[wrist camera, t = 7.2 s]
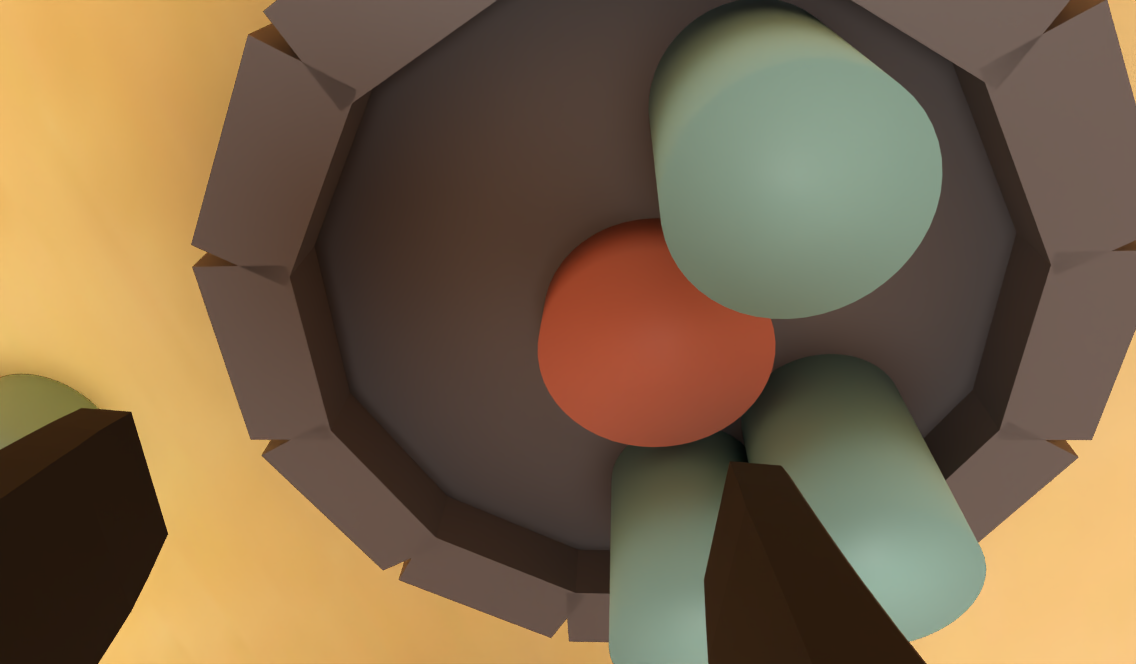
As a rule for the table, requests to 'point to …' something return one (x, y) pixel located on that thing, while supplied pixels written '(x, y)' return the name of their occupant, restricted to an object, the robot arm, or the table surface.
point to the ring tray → (561, 141)
